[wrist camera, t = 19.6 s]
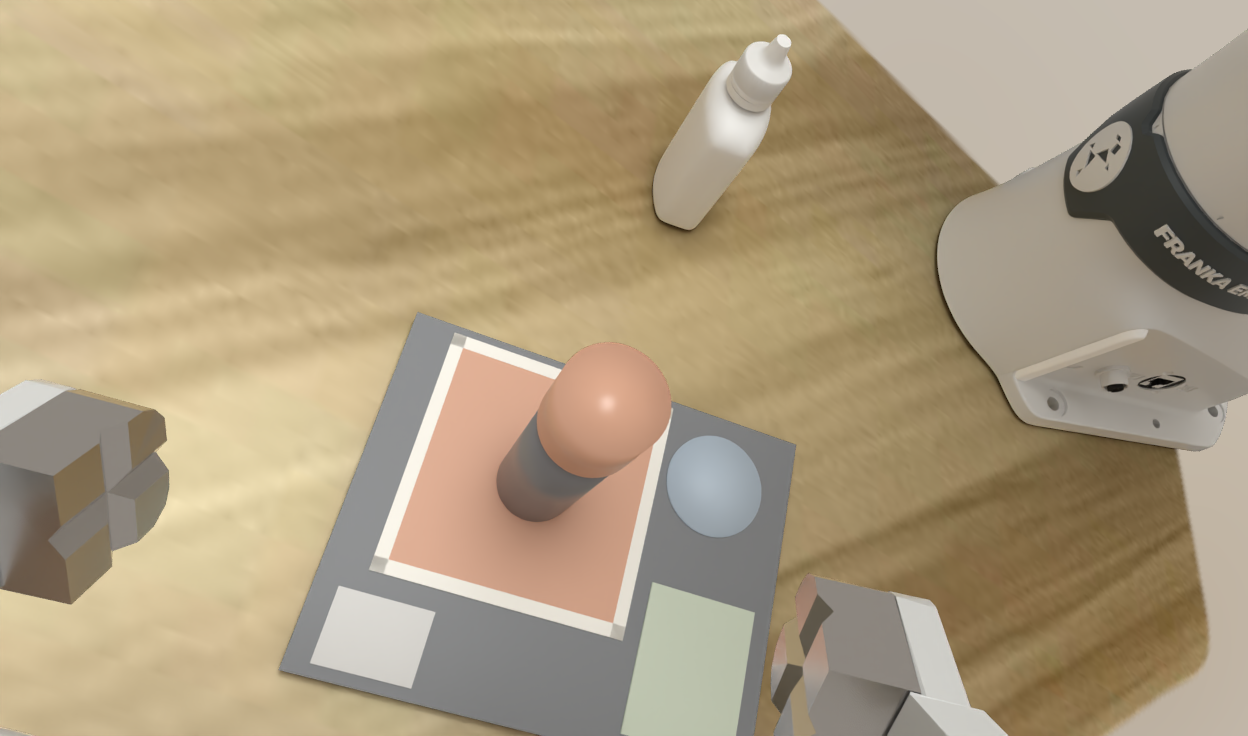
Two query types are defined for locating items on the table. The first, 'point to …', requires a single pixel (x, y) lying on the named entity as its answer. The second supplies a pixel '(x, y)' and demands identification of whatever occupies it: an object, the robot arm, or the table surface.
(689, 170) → the eye dropper bottle
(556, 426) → the terracotta marker
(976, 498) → the table surface
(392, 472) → the picture board
